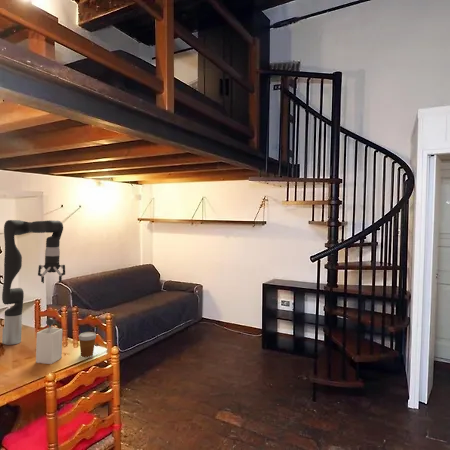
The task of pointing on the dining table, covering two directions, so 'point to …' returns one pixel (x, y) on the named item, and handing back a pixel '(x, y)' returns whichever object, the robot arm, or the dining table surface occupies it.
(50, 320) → the plunger
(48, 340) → the grey rectangular box
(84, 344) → the disposable coffee cup
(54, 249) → the robot arm
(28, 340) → the dining table surface
